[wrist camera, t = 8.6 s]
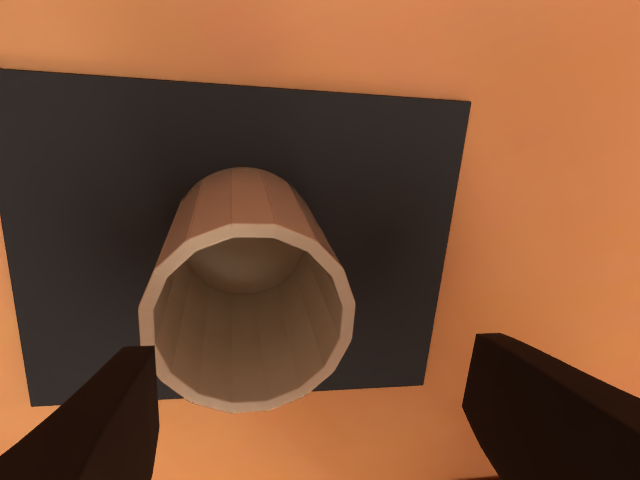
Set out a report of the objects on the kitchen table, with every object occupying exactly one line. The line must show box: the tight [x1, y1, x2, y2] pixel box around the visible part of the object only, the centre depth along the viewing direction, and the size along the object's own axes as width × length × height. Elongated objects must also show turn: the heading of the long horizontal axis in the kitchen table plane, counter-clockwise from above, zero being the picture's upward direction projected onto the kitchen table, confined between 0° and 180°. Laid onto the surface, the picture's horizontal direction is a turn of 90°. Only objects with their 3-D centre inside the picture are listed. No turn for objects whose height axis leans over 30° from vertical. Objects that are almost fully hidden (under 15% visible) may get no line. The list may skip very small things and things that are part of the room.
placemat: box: [0, 69, 471, 407], centre depth 19 cm, size 13×17×1 cm
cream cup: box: [138, 167, 356, 413], centre depth 15 cm, size 5×5×7 cm
